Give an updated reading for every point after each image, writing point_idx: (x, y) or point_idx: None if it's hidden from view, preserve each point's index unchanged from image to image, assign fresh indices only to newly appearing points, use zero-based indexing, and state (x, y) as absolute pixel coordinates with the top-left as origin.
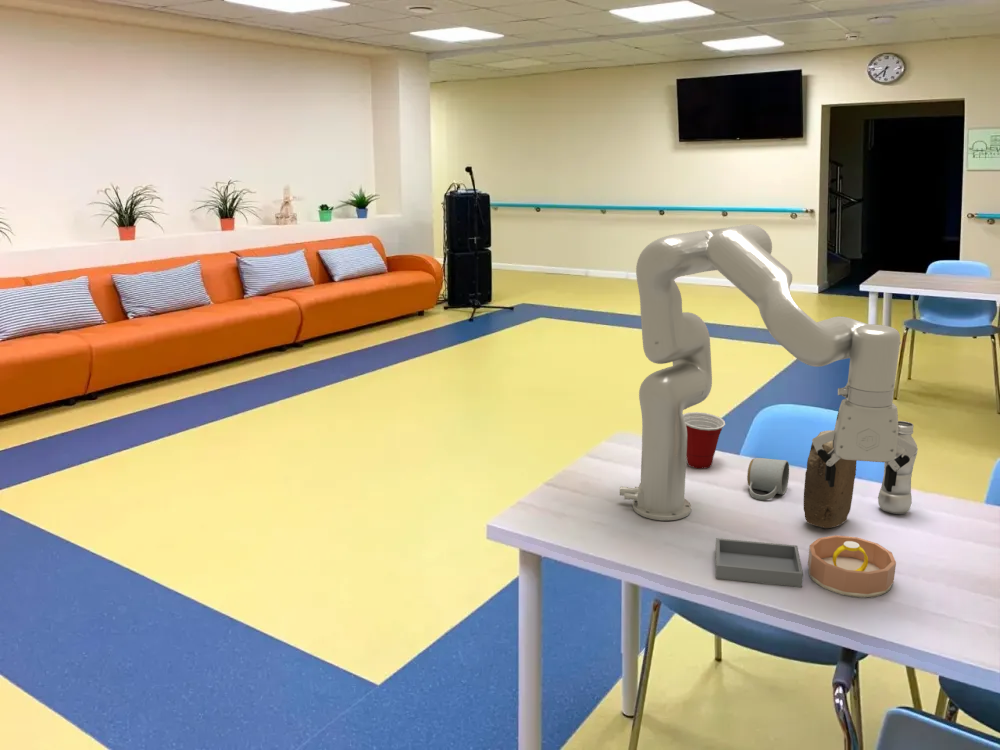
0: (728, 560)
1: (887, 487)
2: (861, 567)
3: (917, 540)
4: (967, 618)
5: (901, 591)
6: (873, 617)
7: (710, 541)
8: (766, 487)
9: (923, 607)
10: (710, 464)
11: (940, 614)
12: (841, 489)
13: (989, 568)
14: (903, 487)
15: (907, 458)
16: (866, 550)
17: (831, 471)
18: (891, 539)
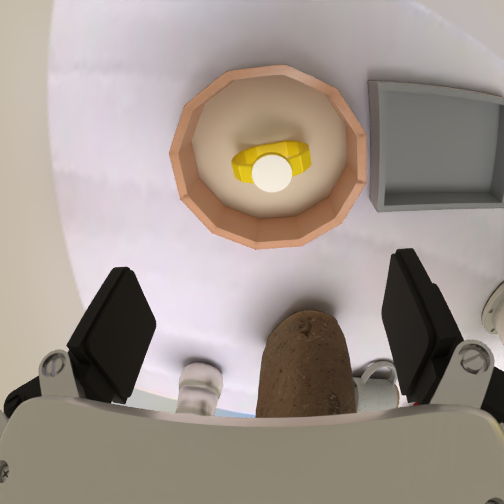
0: (482, 162)
1: (123, 280)
2: (245, 161)
3: (163, 307)
4: (73, 79)
5: (170, 124)
6: (224, 2)
7: (490, 226)
8: (374, 381)
9: (133, 80)
10: (417, 404)
11: (108, 69)
12: (283, 376)
13: (70, 252)
14: (185, 396)
15: (9, 408)
16: (235, 222)
17: (445, 312)
18: (199, 304)
